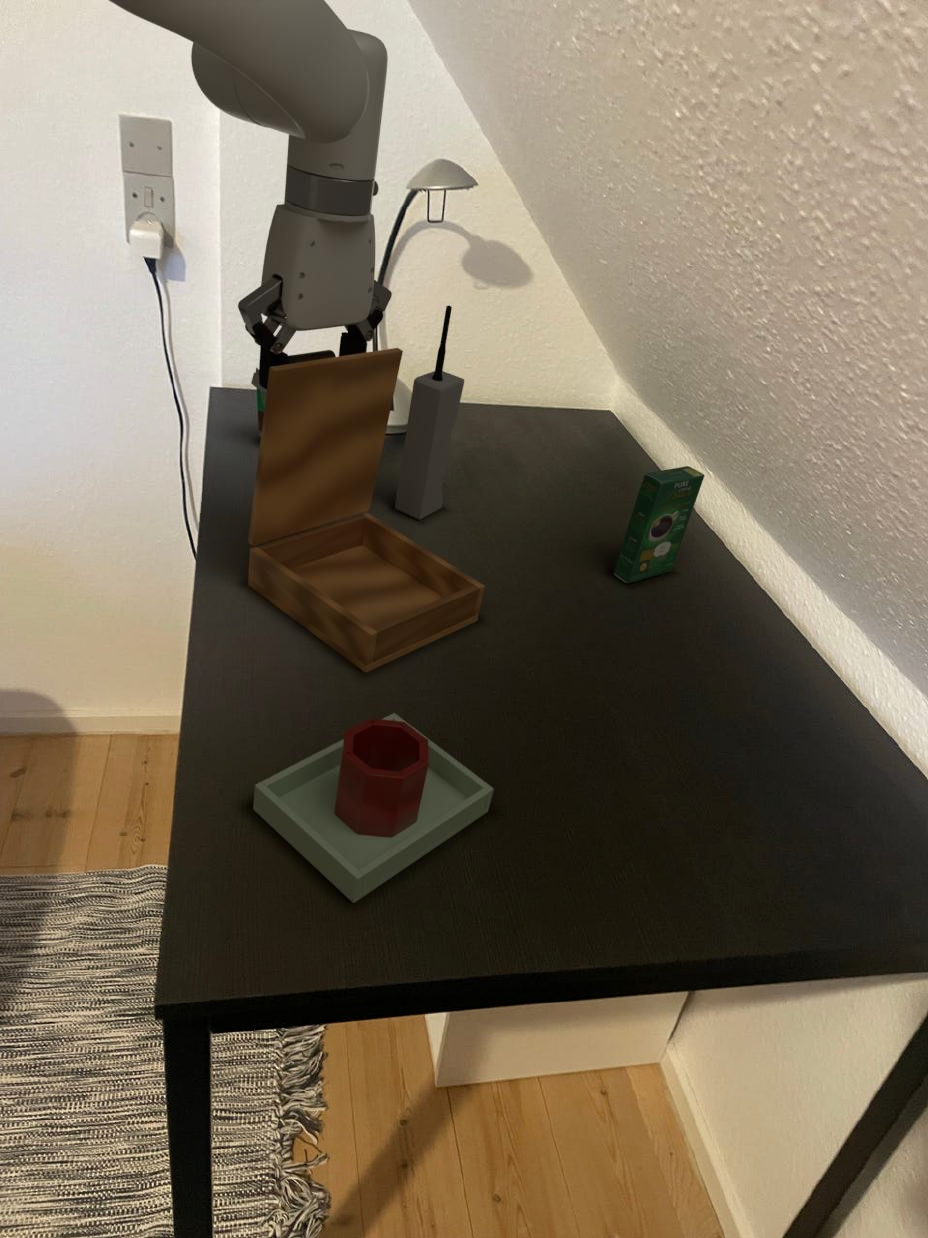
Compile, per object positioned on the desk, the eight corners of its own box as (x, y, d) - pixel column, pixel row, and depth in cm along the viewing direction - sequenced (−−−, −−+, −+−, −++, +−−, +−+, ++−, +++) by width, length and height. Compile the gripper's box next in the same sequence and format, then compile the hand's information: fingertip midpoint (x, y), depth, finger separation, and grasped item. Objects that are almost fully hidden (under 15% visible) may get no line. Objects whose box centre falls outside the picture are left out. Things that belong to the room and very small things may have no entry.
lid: (403, 350, 92) (369, 329, 95) (275, 370, 82) (240, 346, 84) (369, 510, 103) (339, 488, 105) (252, 546, 92) (222, 520, 95)
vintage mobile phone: (441, 509, 117) (478, 306, 103) (419, 521, 113) (454, 312, 100) (417, 498, 118) (450, 296, 105) (394, 510, 114) (425, 302, 101)
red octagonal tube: (374, 849, 68) (384, 789, 65) (318, 800, 71) (325, 740, 68) (433, 811, 72) (445, 753, 69) (378, 767, 76) (387, 708, 72)
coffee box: (656, 560, 115) (688, 462, 108) (673, 572, 114) (707, 473, 107) (610, 573, 111) (641, 471, 104) (628, 585, 109) (660, 482, 102)
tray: (353, 904, 64) (357, 879, 63) (252, 809, 70) (254, 784, 69) (488, 811, 74) (494, 788, 73) (390, 735, 80) (394, 712, 78)
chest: (477, 621, 97) (485, 585, 95) (365, 673, 86) (371, 634, 84) (362, 546, 106) (366, 512, 103) (247, 585, 95) (249, 548, 93)
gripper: (372, 183, 90) (353, 359, 99) (219, 182, 78) (213, 382, 87) (428, 204, 86) (403, 385, 95) (276, 205, 74) (263, 412, 83)
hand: (312, 383), depth 91 cm, fingers open, 9 cm apart
